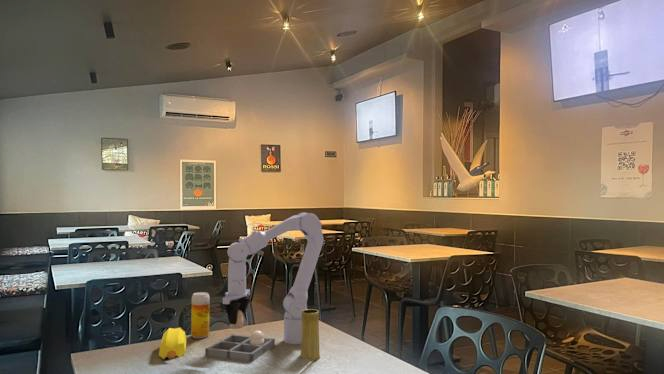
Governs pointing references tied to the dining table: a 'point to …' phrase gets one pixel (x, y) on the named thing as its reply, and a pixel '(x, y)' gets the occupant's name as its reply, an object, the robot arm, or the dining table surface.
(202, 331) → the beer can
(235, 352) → the gray compartment tray
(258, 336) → the cream egg
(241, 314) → the brown egg
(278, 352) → the dining table surface
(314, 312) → the vase
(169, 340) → the yellow banana
